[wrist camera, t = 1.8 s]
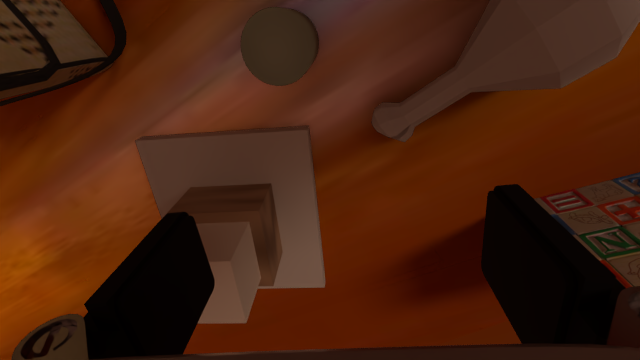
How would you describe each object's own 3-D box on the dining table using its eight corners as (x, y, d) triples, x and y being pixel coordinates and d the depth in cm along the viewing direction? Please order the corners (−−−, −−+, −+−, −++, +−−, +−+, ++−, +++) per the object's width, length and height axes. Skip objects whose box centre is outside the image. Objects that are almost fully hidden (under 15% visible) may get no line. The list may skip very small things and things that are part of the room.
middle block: (180, 224, 28) (148, 263, 24) (249, 221, 28) (230, 261, 23) (197, 279, 31) (172, 323, 26) (261, 277, 30) (246, 323, 26)
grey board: (142, 136, 32) (134, 140, 31) (309, 125, 30) (307, 129, 29) (190, 282, 40) (186, 289, 38) (325, 279, 38) (324, 287, 37)
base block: (190, 187, 32) (165, 214, 28) (271, 183, 32) (258, 210, 27) (209, 253, 36) (189, 287, 31) (282, 251, 35) (273, 286, 31)
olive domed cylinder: (253, 12, 27) (234, 11, 22) (315, 5, 26) (309, 3, 22) (263, 77, 29) (247, 88, 24) (321, 72, 28) (316, 82, 24)
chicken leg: (345, 73, 29) (358, 141, 24) (580, -114, 20) (684, -71, 15) (398, 124, 34) (417, 190, 29) (604, -7, 25) (688, 54, 20)
